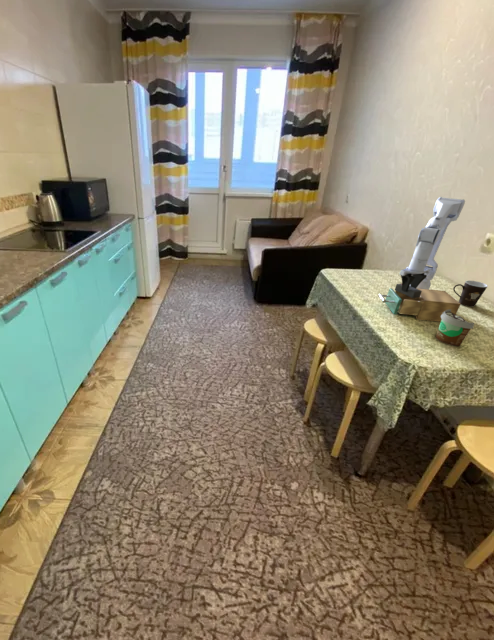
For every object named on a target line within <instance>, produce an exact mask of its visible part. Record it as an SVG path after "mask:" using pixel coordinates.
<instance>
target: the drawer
mask: <svg viewBox="0 0 494 640" xmlns="http://www.w3.org/2000/svg"><path fill="white" fill-rule="evenodd" d="M377 297H378V298H379V299H380V300H381V302H382V303H383V304H385V305H386V306H387V308H388V309H389V310H390V311H391V313H392V314H393V315H397V314H399V315H400V314H401V315H410V316H414V315H418V314H419V312H420V309H421V307H422V304H423V302H424V301H423V300H422V299H421V298H420V297H418V298H411V297H409V296H407V295H405V294H402V293H400V292H398V291H396V290H395V289H393V288H392V287H391V288H390V287H389V288H388V291H387V294H382V293H378V294H377Z"/></svg>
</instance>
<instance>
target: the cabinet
mask: <svg viewBox="0 0 494 640" xmlns="http://www.w3.org/2000/svg"><path fill="white" fill-rule="evenodd" d="M416 289H418V288H416ZM418 290H421V291H422V292H421V295H420V298H421V299H422V300H423V301H424V302H423V304H422V307H421V309H420V312H419V314H418V315H413V316H414V317H415V319H416V320H421V321H431V322H438V323H439V322H440V323H441V320H442V319H441V315H442V313H443V312H445V311H446V310H449V309H452V310H451V312H452V313H453V314H455V315H457V313H458V311H459V309H460V307H461V305H462V304H460V303H459V300H457V299H456V298H454V297H453V296H452V295H451V294H450V293H448V292H447V291H446V290H438V289H430V288H429V289H418Z"/></svg>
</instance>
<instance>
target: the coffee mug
mask: <svg viewBox="0 0 494 640" xmlns="http://www.w3.org/2000/svg"><path fill="white" fill-rule="evenodd" d="M458 286H459V287H462V290H461V294H459V293H458V292H457V291H456V287H458ZM488 287H489V285H488V284H487V283H484V282H482V281H477V280H465V282H464V284H461V283H458V284H455V285H454V286H453V289H452V290H453V292H454V294H455V295H457V296H458V297H459V299H458V302H459V303H460V304H461V305H462V306H463V307H464V306H465V307H469V308H470V307H471V308H472V307H475V306H476V304H477V303H478V301H479V300H480V299H481V297H482V296H483V294H484V293H485V291H486V290H487V289H488Z"/></svg>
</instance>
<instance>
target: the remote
mask: <svg viewBox="0 0 494 640" xmlns="http://www.w3.org/2000/svg"><path fill="white" fill-rule="evenodd" d="M395 290H396V291H398V292H400V293H402V294H405V295H407V296H409V297H411V298H418V297H420V295H421V292H422V291H421V290H418V289H416V288H414V287H411V286H409V288H408V290H407V291H406V292H404V291H402V282H401V283H396V285H395V287H394V291H395Z"/></svg>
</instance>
